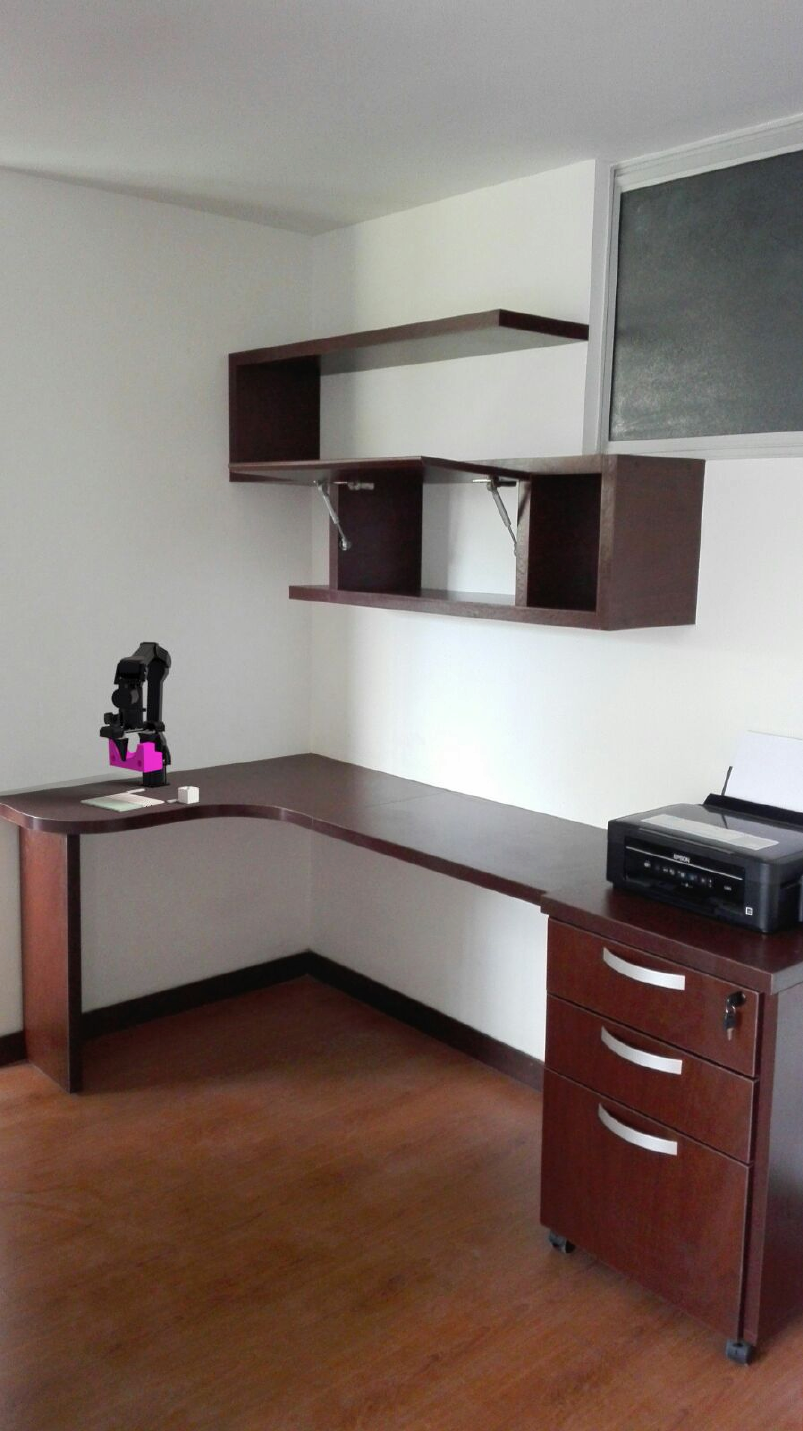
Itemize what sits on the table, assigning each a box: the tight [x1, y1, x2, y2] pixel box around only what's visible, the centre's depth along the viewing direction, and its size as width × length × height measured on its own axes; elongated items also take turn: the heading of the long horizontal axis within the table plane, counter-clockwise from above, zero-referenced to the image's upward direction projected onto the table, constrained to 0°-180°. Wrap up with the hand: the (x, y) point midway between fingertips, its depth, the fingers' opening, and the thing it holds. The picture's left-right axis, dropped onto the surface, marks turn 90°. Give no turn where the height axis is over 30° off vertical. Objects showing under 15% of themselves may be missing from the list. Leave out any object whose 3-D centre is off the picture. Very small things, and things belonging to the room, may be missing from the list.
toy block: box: [108, 739, 162, 773], centre depth 329 cm, size 15×6×8 cm, turn 52°
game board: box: [80, 788, 178, 813], centre depth 331 cm, size 22×19×1 cm
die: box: [177, 785, 200, 805], centre depth 331 cm, size 4×4×4 cm
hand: (133, 759), depth 329 cm, fingers closed on toy block, 6 cm apart
